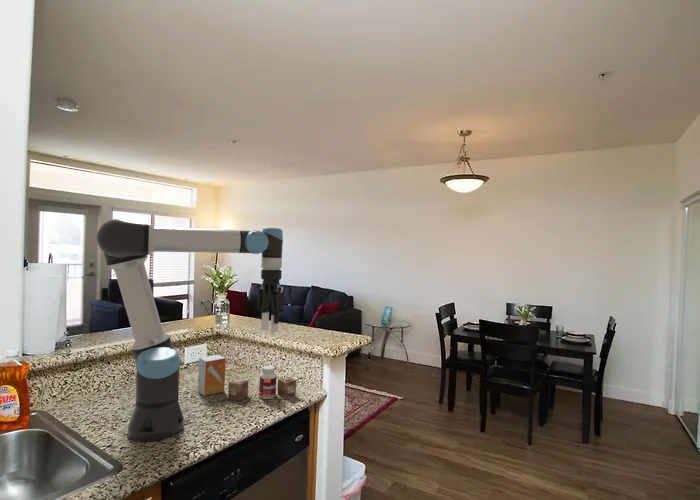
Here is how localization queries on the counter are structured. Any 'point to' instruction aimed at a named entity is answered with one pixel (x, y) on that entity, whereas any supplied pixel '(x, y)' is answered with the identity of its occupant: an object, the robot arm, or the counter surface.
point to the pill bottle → (267, 383)
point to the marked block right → (286, 387)
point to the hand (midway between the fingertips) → (269, 330)
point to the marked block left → (238, 389)
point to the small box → (211, 375)
